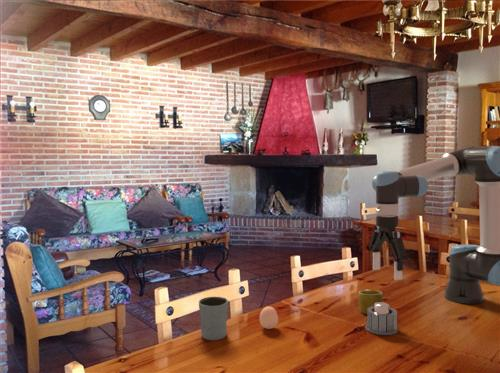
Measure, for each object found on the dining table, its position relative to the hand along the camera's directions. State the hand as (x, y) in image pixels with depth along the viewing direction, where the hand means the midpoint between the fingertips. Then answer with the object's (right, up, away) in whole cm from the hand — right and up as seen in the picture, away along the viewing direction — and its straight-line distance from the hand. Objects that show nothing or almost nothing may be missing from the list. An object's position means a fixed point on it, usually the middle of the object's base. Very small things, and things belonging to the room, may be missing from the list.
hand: (386, 274), depth 160 cm
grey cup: (-61, -20, -5) cm, 65 cm away
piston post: (-2, -19, -1) cm, 19 cm away
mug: (-1, -18, +18) cm, 26 cm away
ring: (-2, -19, -1) cm, 19 cm away
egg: (-42, -20, +1) cm, 46 cm away
